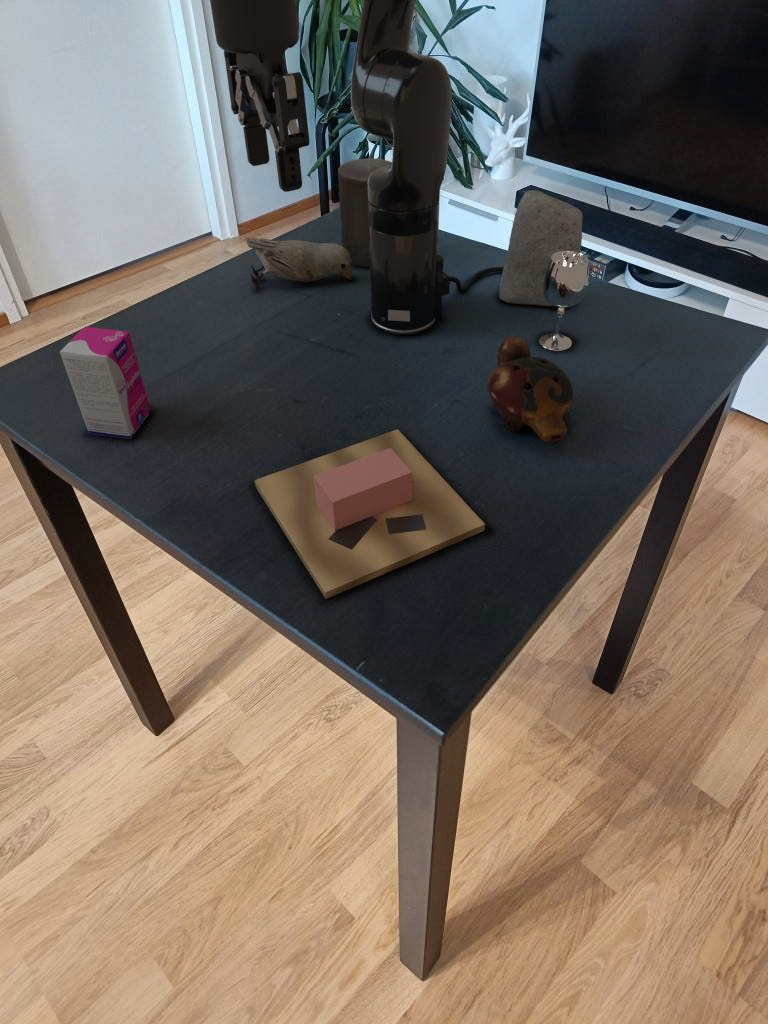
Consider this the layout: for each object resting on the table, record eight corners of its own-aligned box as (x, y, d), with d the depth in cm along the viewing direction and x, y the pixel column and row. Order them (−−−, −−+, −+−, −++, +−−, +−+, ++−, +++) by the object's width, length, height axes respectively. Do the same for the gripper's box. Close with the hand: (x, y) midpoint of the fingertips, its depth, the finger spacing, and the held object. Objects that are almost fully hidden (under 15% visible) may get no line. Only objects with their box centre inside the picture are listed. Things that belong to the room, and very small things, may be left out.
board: (397, 435, 84) (397, 428, 83) (484, 530, 73) (485, 524, 72) (255, 487, 78) (254, 480, 77) (325, 599, 67) (324, 592, 66)
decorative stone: (575, 295, 107) (593, 193, 97) (569, 314, 103) (588, 210, 93) (504, 285, 110) (514, 185, 100) (495, 303, 106) (505, 201, 96)
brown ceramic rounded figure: (527, 376, 92) (540, 322, 86) (590, 451, 83) (610, 397, 77) (460, 389, 90) (469, 335, 84) (517, 469, 80) (532, 413, 74)
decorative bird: (354, 288, 110) (351, 240, 105) (250, 293, 110) (242, 246, 104) (352, 272, 114) (350, 225, 109) (252, 277, 113) (244, 230, 108)
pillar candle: (337, 266, 116) (330, 169, 105) (349, 240, 123) (344, 147, 112) (396, 270, 114) (395, 172, 104) (405, 243, 121) (405, 149, 111)
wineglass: (529, 348, 97) (541, 265, 89) (539, 328, 101) (552, 246, 92) (572, 356, 95) (588, 272, 87) (580, 335, 99) (596, 252, 91)
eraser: (391, 475, 78) (390, 447, 75) (412, 500, 75) (412, 471, 72) (316, 504, 75) (313, 475, 72) (335, 531, 72) (332, 502, 69)
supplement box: (133, 440, 84) (105, 357, 76) (87, 434, 85) (55, 351, 77) (154, 411, 88) (129, 329, 80) (110, 406, 89) (81, 324, 81)
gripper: (325, -11, 59) (337, 191, 70) (260, -33, 68) (281, 149, 79) (239, -1, 56) (266, 207, 68) (184, -25, 65) (216, 162, 77)
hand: (274, 176), depth 73 cm, fingers open, 8 cm apart
